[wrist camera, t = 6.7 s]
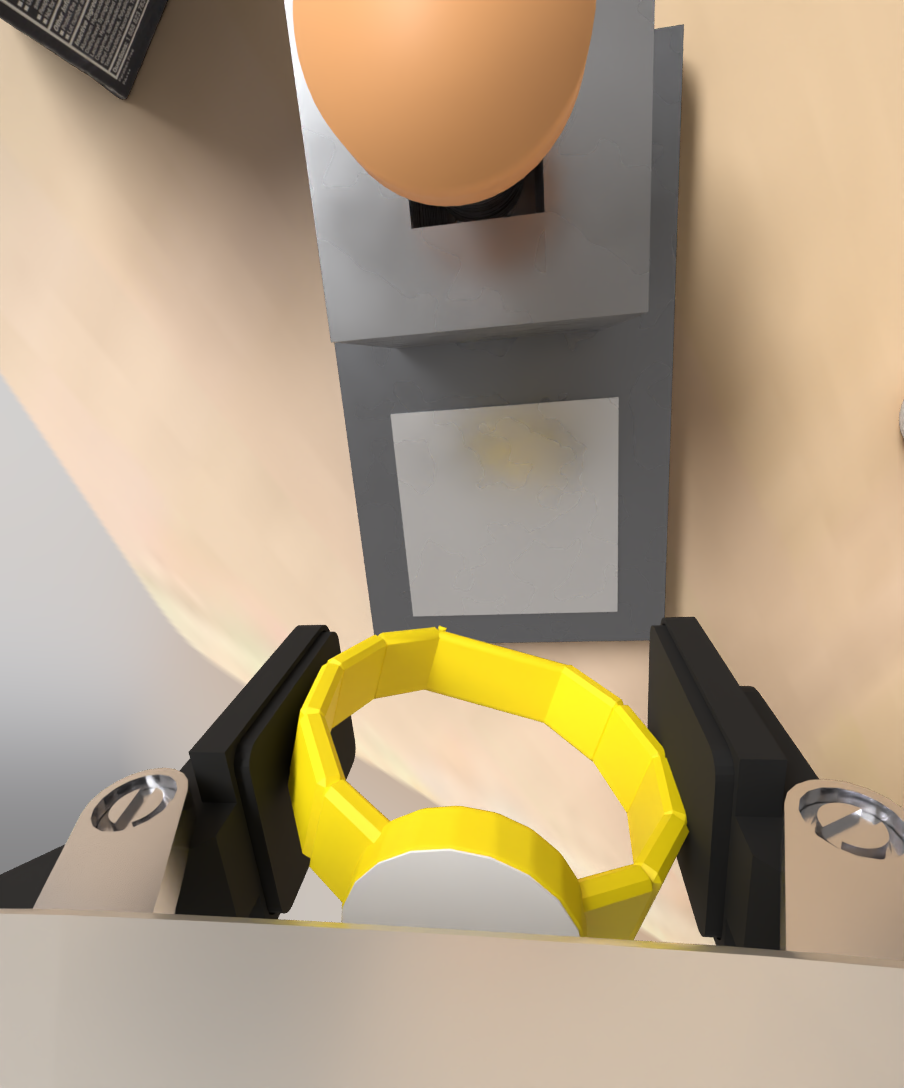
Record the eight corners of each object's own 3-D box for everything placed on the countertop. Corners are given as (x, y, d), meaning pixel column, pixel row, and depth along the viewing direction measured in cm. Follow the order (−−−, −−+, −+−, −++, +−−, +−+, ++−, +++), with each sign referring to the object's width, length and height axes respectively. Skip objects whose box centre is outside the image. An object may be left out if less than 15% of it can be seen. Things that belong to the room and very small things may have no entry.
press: (672, 48, 20) (797, -216, 11) (656, 625, 26) (724, 762, 17) (314, 105, 21) (162, -80, 12) (383, 630, 28) (316, 757, 19)
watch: (356, 683, 13) (185, 934, 7) (380, 570, 12) (205, 758, 6) (621, 772, 12) (668, 1129, 6) (670, 661, 11) (774, 964, 5)
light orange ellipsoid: (560, 66, 14) (595, -234, 7) (564, 256, 16) (597, 166, 8) (392, 93, 15) (268, -158, 8) (409, 273, 16) (317, 203, 9)
